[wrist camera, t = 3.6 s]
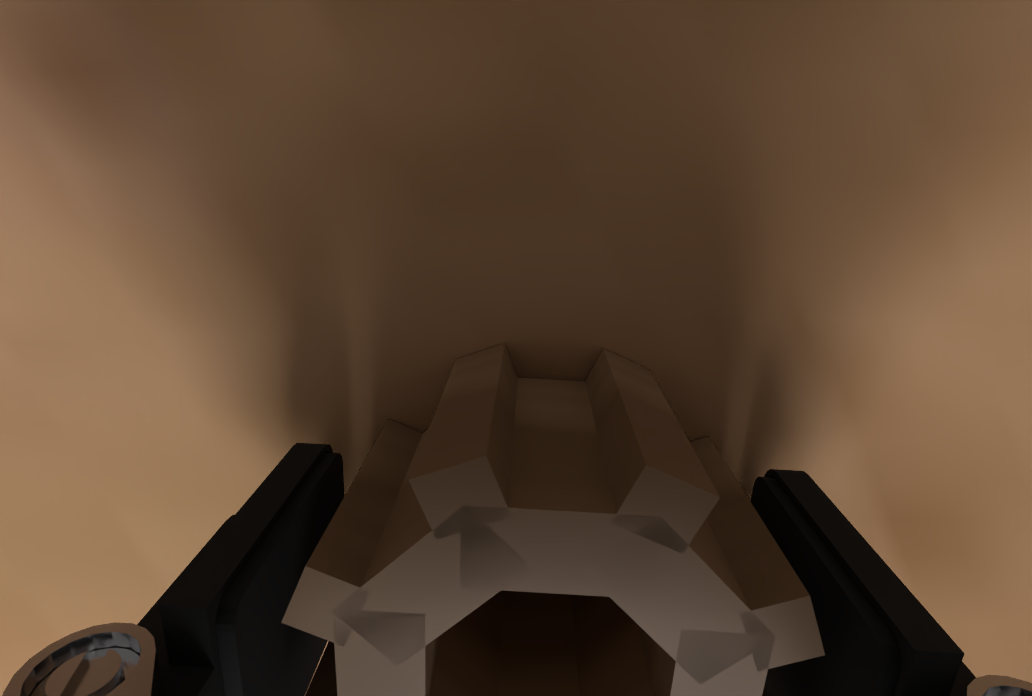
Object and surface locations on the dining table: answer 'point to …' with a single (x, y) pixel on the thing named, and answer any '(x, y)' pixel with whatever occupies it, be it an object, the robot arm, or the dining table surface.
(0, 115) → the dining table surface
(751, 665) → the walnut gear
